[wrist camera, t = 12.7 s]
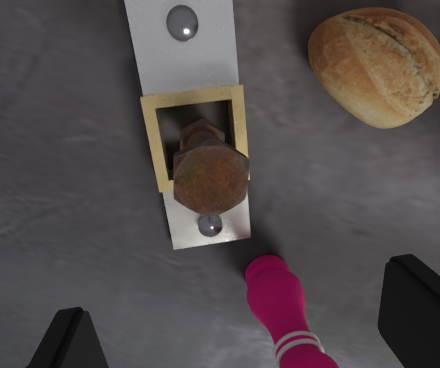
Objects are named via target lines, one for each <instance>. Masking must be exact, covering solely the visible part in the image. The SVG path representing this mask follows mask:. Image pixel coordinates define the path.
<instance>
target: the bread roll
mask: <svg viewBox="0 0 440 368" xmlns="http://www.w3.org/2000/svg"><path fill="white" fill-rule="evenodd" d="M308 56H309V61H310V65H311V67H312V70H313V72H314V74H315V76H316V78H317V79H318V80H319V82H320V83H321V85H322V86H323V87H324V89H325V90H326V91H327V92H328V93H329V94H330V95H331V96H332V97H333V98H334V99H335V100H336V101H337V102H338V103H339V104H340V105H341V106H342V107H343V108H345V109H346V110H347V111H348V112H349V113H351V114H352V115H354V116H355V117H356V118H358V119H359V120H361V121H362V122H364V123H366V124H368V125H370V126H373V127H376V128H382V129H387V128H394V127H398V126H401V125H404V124H406V123H407V122H409V121H411V120H412V119H414V118H415V117H417V116H418V115H420V114H421V113H423V111H424V110H425V109H427V108H428V107H429V106H430V105H431V104H432V102H433V100H434V98H435V99H437V98H438V96H439V93H440V45H439V43H438V41H437V40H436V38H435V37H434V35H433V34H432V33H431V32H430V31H429V30H428V28H427V27H425V26H424V25H423V24H422V23H421V22H420V21H418V20H417V19H415V18H414V17H412V16H409V15H407V14H405V13H403V12H399V11H396V10H394V9H388V8H381V7H367V8H360V9H355V10H350V11H347V12H344V13H341V14H339V15H336V16H333V17H331V18H329V19H327V20H325V21H324V22H322V23H321V24H320V25H319V26H318V27H317V28H316V29H315V30H314V31H313V32H312V34H311V37H310V39H309V41H308Z"/></svg>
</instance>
